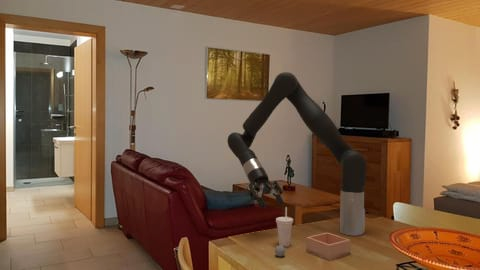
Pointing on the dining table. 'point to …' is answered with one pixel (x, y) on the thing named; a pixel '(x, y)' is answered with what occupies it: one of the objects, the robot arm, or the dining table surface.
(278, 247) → the ball
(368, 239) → the dining table surface
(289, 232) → the smoothie
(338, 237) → the pink square tray
